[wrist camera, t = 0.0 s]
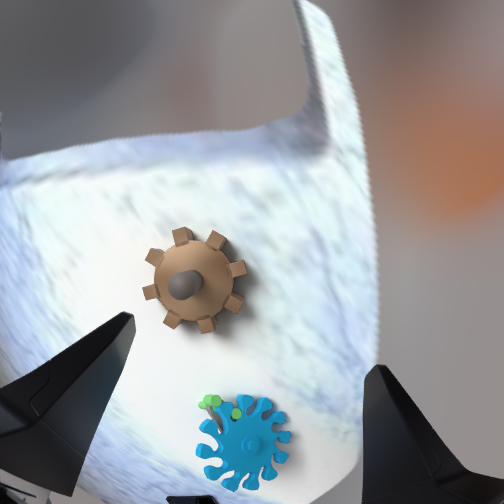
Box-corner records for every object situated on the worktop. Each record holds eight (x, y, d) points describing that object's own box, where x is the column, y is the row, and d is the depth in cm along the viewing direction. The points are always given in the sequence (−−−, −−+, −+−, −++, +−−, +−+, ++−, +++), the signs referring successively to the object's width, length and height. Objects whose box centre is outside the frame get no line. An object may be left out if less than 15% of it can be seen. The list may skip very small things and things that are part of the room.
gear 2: (308, 448, 22) (242, 512, 15) (270, 444, 26) (208, 494, 19) (261, 364, 24) (173, 423, 16) (226, 370, 28) (150, 415, 20)
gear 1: (258, 312, 24) (262, 332, 17) (167, 335, 23) (143, 359, 17) (231, 218, 24) (227, 204, 17) (141, 244, 24) (109, 240, 17)
